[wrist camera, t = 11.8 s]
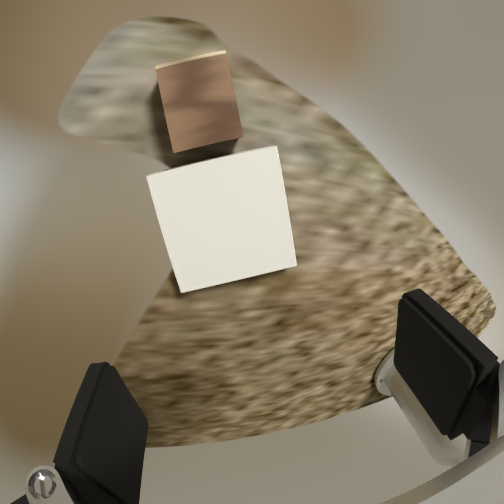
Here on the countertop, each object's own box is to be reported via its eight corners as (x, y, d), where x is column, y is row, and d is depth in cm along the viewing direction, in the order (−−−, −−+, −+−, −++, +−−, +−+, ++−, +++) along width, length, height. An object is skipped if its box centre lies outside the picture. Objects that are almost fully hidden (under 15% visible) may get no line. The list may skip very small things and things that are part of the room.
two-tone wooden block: (239, 137, 28) (223, 60, 25) (243, 137, 24) (225, 50, 21) (177, 151, 27) (161, 74, 24) (173, 153, 24) (155, 66, 21)
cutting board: (272, 145, 28) (277, 146, 26) (291, 258, 33) (296, 265, 31) (150, 174, 27) (146, 176, 26) (182, 284, 32) (181, 292, 30)
